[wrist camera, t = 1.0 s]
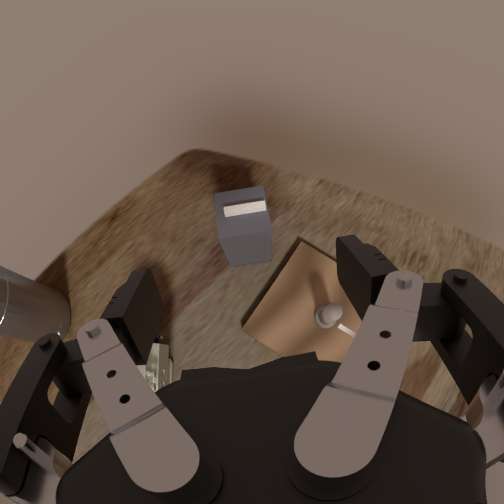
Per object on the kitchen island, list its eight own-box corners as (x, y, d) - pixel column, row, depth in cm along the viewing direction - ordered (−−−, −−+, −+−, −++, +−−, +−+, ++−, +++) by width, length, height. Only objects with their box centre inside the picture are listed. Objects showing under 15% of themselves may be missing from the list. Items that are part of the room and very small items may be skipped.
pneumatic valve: (145, 411, 34) (100, 427, 22) (148, 329, 38) (102, 316, 26) (184, 416, 33) (149, 438, 22) (185, 331, 37) (151, 320, 26)
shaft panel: (242, 329, 37) (237, 325, 31) (300, 244, 40) (305, 225, 35) (345, 394, 33) (358, 401, 27) (396, 304, 36) (415, 295, 31)
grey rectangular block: (230, 267, 40) (217, 236, 30) (226, 229, 42) (212, 189, 32) (271, 260, 40) (271, 227, 30) (265, 223, 42) (262, 181, 32)
